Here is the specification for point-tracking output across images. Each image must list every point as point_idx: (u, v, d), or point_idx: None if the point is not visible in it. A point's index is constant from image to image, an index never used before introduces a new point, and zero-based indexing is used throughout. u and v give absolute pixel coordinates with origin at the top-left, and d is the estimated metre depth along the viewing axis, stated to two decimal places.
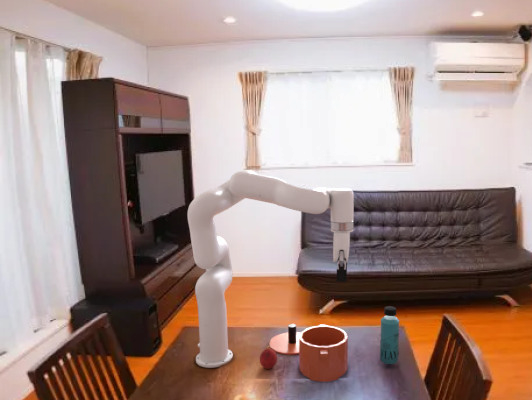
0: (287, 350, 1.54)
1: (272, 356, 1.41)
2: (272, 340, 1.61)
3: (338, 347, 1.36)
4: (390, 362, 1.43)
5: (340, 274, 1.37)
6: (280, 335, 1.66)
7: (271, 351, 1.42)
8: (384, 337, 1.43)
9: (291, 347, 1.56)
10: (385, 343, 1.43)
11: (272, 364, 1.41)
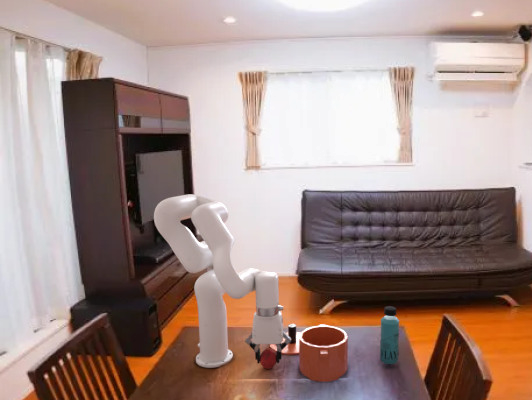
0: (287, 350, 1.54)
1: (272, 356, 1.41)
2: None
3: (338, 347, 1.36)
4: (390, 362, 1.43)
5: None
6: None
7: (271, 351, 1.42)
8: (384, 337, 1.43)
9: (291, 347, 1.56)
10: (385, 343, 1.43)
11: (272, 364, 1.41)
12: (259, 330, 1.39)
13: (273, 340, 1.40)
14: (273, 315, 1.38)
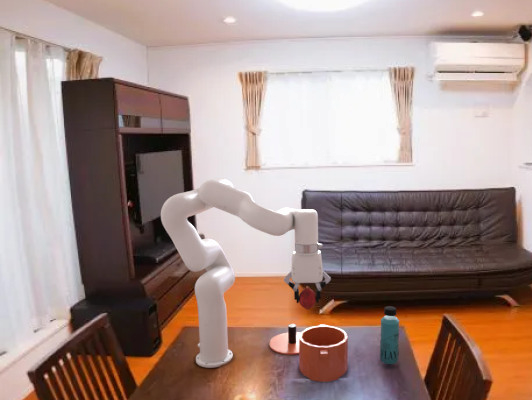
0: (287, 350, 1.54)
1: (311, 295, 1.38)
2: (272, 340, 1.61)
3: (338, 347, 1.36)
4: (390, 362, 1.43)
5: None
6: (280, 335, 1.66)
7: (310, 290, 1.39)
8: (384, 337, 1.43)
9: (291, 347, 1.56)
10: (385, 343, 1.43)
11: (312, 303, 1.38)
12: (299, 268, 1.36)
13: (313, 278, 1.37)
14: (313, 252, 1.35)
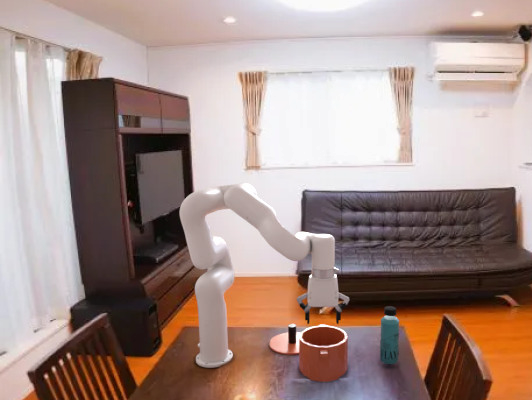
0: (287, 350, 1.54)
1: None
2: (272, 340, 1.61)
3: (338, 347, 1.36)
4: (390, 362, 1.43)
5: (305, 314, 1.41)
6: (280, 335, 1.66)
7: None
8: (384, 337, 1.43)
9: (291, 347, 1.56)
10: (385, 343, 1.43)
11: None
12: (315, 292, 1.38)
13: (329, 303, 1.38)
14: (330, 277, 1.36)
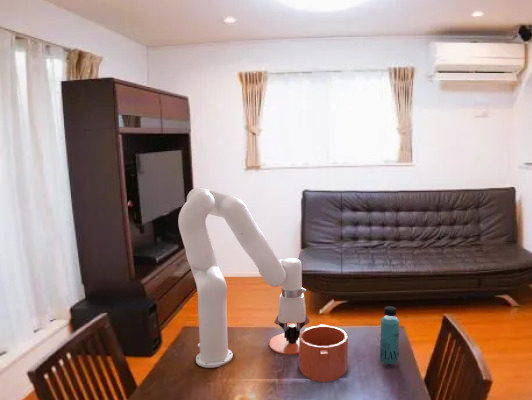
0: (287, 350, 1.54)
1: None
2: (272, 340, 1.61)
3: (338, 347, 1.36)
4: (390, 362, 1.43)
5: None
6: (280, 335, 1.66)
7: None
8: (384, 337, 1.43)
9: (291, 347, 1.56)
10: (385, 343, 1.43)
11: None
12: (284, 310, 1.56)
13: (297, 319, 1.57)
14: (297, 296, 1.55)
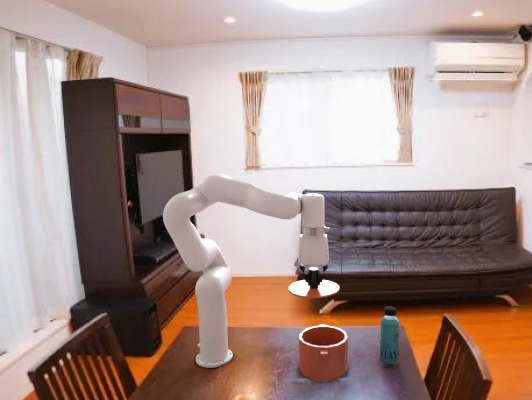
0: (309, 294, 1.39)
1: None
2: (291, 286, 1.46)
3: (338, 347, 1.36)
4: (390, 362, 1.43)
5: (305, 276, 1.44)
6: (299, 282, 1.50)
7: None
8: (384, 337, 1.43)
9: (313, 291, 1.40)
10: (385, 343, 1.43)
11: None
12: (306, 250, 1.40)
13: (319, 261, 1.41)
14: (320, 235, 1.39)
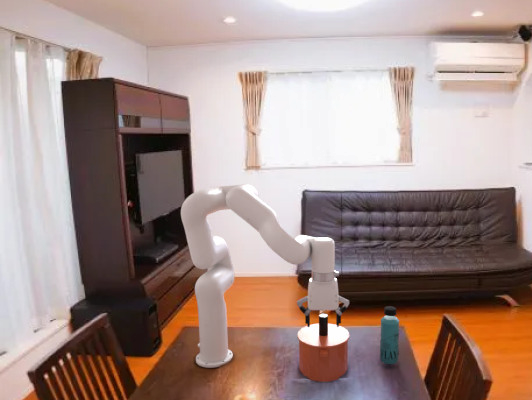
0: (319, 342, 1.36)
1: None
2: (300, 332, 1.43)
3: (338, 347, 1.36)
4: (390, 362, 1.43)
5: None
6: (308, 327, 1.47)
7: None
8: (384, 337, 1.43)
9: (323, 340, 1.38)
10: (385, 343, 1.43)
11: None
12: (315, 296, 1.38)
13: (329, 306, 1.39)
14: (330, 280, 1.36)
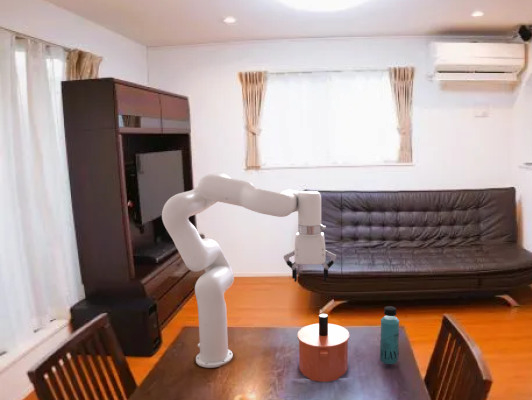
0: (319, 342, 1.36)
1: None
2: (300, 332, 1.43)
3: (338, 347, 1.36)
4: (390, 362, 1.43)
5: None
6: (308, 327, 1.47)
7: None
8: (384, 337, 1.43)
9: (323, 340, 1.38)
10: (385, 343, 1.43)
11: None
12: (302, 249, 1.37)
13: (316, 260, 1.38)
14: (316, 233, 1.36)
